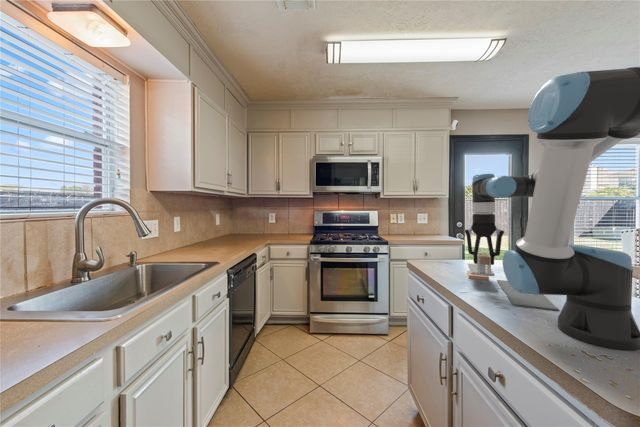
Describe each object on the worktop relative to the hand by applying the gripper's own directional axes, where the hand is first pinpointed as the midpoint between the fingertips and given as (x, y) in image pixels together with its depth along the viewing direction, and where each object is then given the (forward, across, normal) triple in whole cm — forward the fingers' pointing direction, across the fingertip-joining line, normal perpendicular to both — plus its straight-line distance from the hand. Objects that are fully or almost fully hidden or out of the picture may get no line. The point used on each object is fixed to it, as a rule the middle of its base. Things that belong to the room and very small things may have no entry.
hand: (483, 272), depth 103 cm
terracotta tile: (+7, 0, -17) cm, 19 cm away
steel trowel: (+2, 0, -7) cm, 8 cm away
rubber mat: (+8, -13, -2) cm, 15 cm away
